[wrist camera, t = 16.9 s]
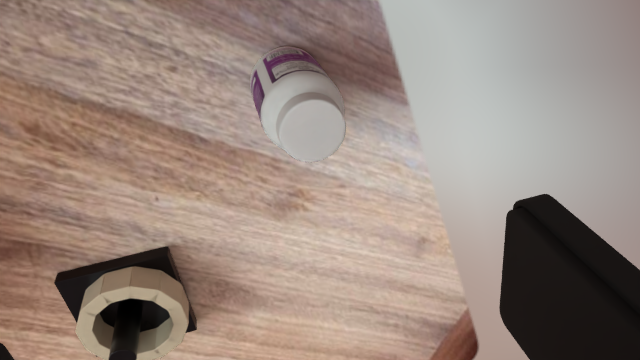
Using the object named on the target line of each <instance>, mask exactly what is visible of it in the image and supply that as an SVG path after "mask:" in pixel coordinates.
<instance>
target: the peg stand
mask: <svg viewBox="0 0 640 360" xmlns="http://www.w3.org/2000/svg"><path fill="white" fill-rule="evenodd" d="M134 266H136V267H143V268H150V269H156V270H161V271H163V272H165V273H166V274H167V275H169V276H170V277H172V278H173V279H175V280H176V281H178V282H179V283H181V285H182V286H183V284H182V282H181V279H180V276H179V274H178V271H177V269H176V266H175V263H174V261H173V258H172V256H171V253H170V250H169V248H168V246H167V247H163V248H159V249H155V250H151V251H147V252H143V253H139V254H135V255H131V256H126V257H122V258H118V259H114V260H110V261H106V262H102V263H98V264H94V265H90V266H86V267H82V268H78V269H73V270H69V271H65V272H61V273H58V274H57V277H56V280H55V282H54V283H55V285H56V287H57V288H58V290H59V292H60V294H61V295H62V297H63V299H64V301H65V302H66V304H67V306H68V308H69V309H70V311H71V313H72V315H73V316H74V318H75V320H76V322H77V321H78V317H79V313H80V309H81V305H82V301H83V298H84V294H85V290H86V289H87V288H88V287H89V286H90V285H92V284H93V283H94V282H95V281H96V280H97V279H99V278H100V277H101V276H102V275H103V274H106V273H108V272H112V271H116V270H120V269H124V268H128V267H134ZM183 289H184V287H183ZM184 292H185V289H184ZM185 294H186V292H185ZM186 297H187V295H186ZM187 299H188V297H187ZM188 302H189V300H188ZM99 314H100V315H101V317H102V319H103V321H104V323H106V324H108V325H110V326H112V327H113V328H114V331H113V337H112V342H111V348H110V354H109V360H136V359H137V352H138V343H139V335H140V332H143V331H147V330H151V329H154V328H157V327H159V326H160V325H161V324H162V323H164V322H165V321H166V320H167V319H169V318H170V315H169V312H168V310H166V309H165V308H163V307H161V306H160V305H158V304H157V303H155V302H153V301H149V300H141V299H134V298H129V299H125V300H121V301H118V302H114V303H110V304H109V305H108V306H107V307H105V308H104V309H103V310H102V311H101V312H99ZM194 330H197V320H196V318H195V315H194V313H193V310H192V307H191V305H190V302H189V324H188V327H187V330H186V332H185V333H187V332H191V331H194ZM96 357H97V356H96Z"/></svg>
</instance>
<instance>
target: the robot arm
mask: <svg viewBox="0 0 640 360" xmlns="http://www.w3.org/2000/svg"><path fill="white" fill-rule="evenodd" d="M500 314H501V318H502V320H503V323H504V324H505V326H506V328H507V329H508V330H509V332H510V333H511V334H512V336H513V337H514V339H515V340H516V341H517V343H518V344H519V345H520V347H521V348H522V350H523V351H524V352H525V354H526V355H527V357H528V358H529V359H530V360H640V270H639V269H638V268H637V267H635V266H634V265H633V264H632V263H631V262H629V261H628V260H627V259H626V258H625V257H623V256H622V255H621V254H620V253H619V252H617V251H616V250H615V249H614V248H613V247H612V246H610V245H609V244H608V243H607V242H606V241H604V240H603V239H602V238H601V237H600V236H598V235H597V234H596V233H595V232H594V231H592V230H591V229H590V228H589V227H588V226H586V225H585V224H584V223H583V222H582V221H580V220H579V219H578V218H577V217H576V216H574V215H573V214H572V213H571V212H570V211H568V210H567V209H566V208H565V207H564V206H562V205H561V204H560V203H559V202H558V201H557V200H555V199H554V198H553V197H551V196H550V195H548V194H542V195H538V196H535V197H530V198H527V199H523V200H519V201H517V202H516V203H515V204H514V207H513V210H511V211H509V212H508V213H507V217H506V230H505V243H504V256H503V270H502V283H501V296H500ZM0 360H14V359H13V357H12V356H11V354H10V353H9V351H8V350H7V349H6V347H5V346H4V345H3V344H1V343H0Z"/></svg>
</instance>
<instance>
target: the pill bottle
mask: <svg viewBox="0 0 640 360" xmlns="http://www.w3.org/2000/svg"><path fill="white" fill-rule="evenodd" d="M250 87H251V92H252V96H253V99H254V102H255V106H256V109H257V112H258V115H259V118H260V121H261V124H262V127H263V129H264V131H265V133H266V135H267V136H268V138H269V139H270V140H271V141H272V142H273V143H274V144H275V145H277V146H278V147H280V148H281V149H283V150H285V151H286V152H287V153H288V154H289V155H290V156H291V157H293V158H294V159H296V160H299V161H302V162H318V161H321V160H324V159H326V158H328V157H329V156H331V155H332V154H333V153H335V152H336V151H337V149H338V148H339V147H340V146H341V144H342V142H343V140H344V137H345V133H346V123H345V119H344V114H345V108H344V101H343V98H342V95H341V93H340V91H339V89H338V88H337V86H336V85H335V84H334V83H333V81H332V80H331V79H330V78H329V76H328V75H327V74H326V72H325V71H324V70H323V69H322V68H321V66H320V65H319V64H318V62H317V61H316V60H315V59H314V58H313V57H312V56H311V55H310V54H309V53H307V52H305V51H304V50H302V49H299V48H295V47H289V46H285V47H279V48H276V49H273V50H271V51H269V52H267V53H266V54H265V55H263V56H262V57H261V58H260V59H259V60H258V62H257V63H256V64H255V66H254V68H253V71H252V74H251V79H250Z"/></svg>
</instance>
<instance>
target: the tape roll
mask: <svg viewBox="0 0 640 360" xmlns="http://www.w3.org/2000/svg"><path fill="white" fill-rule="evenodd" d="M129 298H134V299H141V300H149V301H153V302H155V303H157V304H158V305H160V306H161V307H163V308H165V309H166V310H168V312H169V315H170V318H169V319H167V320H166V321H165V322H164V323H162V324H161V325H160V326H159V327H157V328H154V329H151V330H147V331H143V332H140V335H139V343H138V352H137V359H136V360H155V359H158V358H162V357H164V356H165V355H167V354H168V353H169V352H170V351H172V350H173V349H174V348H175V347H177V346H178V345H179V344H180V343H181V342H182V341H183V338H184V335H185V332H186V330H187V327H188V324H189V302H188V299H187V297H186V294H185V292H184V289H183V286H182V285H181V283H179V282H178V281H176V280H175V279H173V278H172V277H170V276H169V275H167V274H166V273H165V272H163V271H161V270H156V269H150V268H143V267H136V266H134V267H128V268H124V269H120V270H116V271H112V272H108V273H106V274H103V275H102V276H101V277H100V278H99V279H97V280H96V281H95V282H94V283H93V284H92V285H90V286H89V287H88V288H87V289H86V290H85V294H84V298H83V301H82V305H81V309H80V313H79V317H78V321H77V326H76V330H75V331H76V334H77V335H78V337H79V339H80V341H81V342H82V344H83V346H84V347H85V349H86V350H87V351H89V352H91V353H92V354H94V355H96V356H98V357H100V358H102V359H104V360H109V354H110V348H111V342H112V337H113V331H114V328H113V327H112V326H110V325H108V324H106V323H104V321H103V319H102V317H101V315H100V314H99V312H101V311H102V310H103V309H104V308H105V307H107V306H108V305H109V304H110V303H114V302H118V301H121V300H125V299H129Z"/></svg>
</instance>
